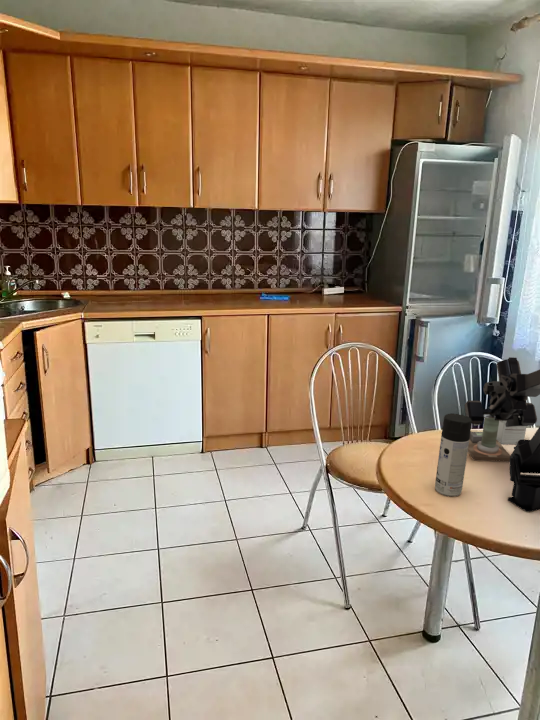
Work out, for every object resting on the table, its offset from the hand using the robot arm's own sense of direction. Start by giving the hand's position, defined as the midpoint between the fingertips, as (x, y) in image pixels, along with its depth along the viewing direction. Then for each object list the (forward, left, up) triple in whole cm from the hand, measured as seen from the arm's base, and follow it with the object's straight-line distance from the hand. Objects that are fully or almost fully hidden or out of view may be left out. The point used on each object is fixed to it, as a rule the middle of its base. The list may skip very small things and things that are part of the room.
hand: (490, 424), depth 163 cm
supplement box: (+5, -14, -9) cm, 17 cm away
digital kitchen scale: (+1, -1, -9) cm, 9 cm away
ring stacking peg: (-1, 0, -8) cm, 8 cm away
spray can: (-15, +26, -9) cm, 32 cm away
